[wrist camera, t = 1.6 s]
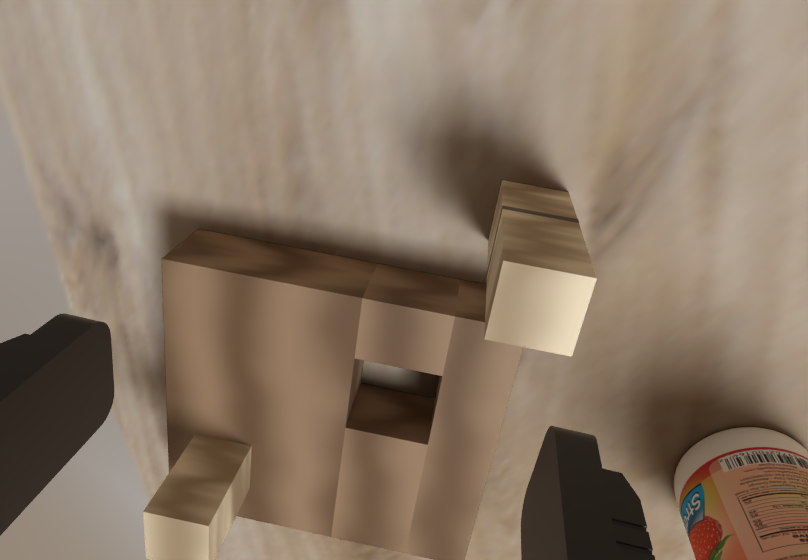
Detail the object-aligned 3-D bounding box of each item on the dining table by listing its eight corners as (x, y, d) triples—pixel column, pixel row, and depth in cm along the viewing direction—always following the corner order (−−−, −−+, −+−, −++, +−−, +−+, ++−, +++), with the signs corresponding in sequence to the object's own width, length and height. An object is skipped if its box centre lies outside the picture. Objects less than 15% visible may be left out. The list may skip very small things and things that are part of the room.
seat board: (524, 291, 40) (533, 405, 29) (466, 512, 49) (457, 661, 38) (198, 228, 41) (93, 315, 31) (199, 455, 50) (118, 583, 40)
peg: (568, 191, 37) (597, 278, 26) (551, 253, 39) (572, 356, 28) (501, 179, 37) (502, 260, 26) (488, 241, 39) (483, 339, 28)
